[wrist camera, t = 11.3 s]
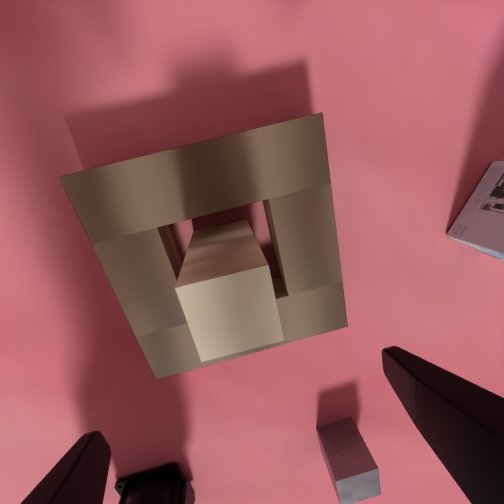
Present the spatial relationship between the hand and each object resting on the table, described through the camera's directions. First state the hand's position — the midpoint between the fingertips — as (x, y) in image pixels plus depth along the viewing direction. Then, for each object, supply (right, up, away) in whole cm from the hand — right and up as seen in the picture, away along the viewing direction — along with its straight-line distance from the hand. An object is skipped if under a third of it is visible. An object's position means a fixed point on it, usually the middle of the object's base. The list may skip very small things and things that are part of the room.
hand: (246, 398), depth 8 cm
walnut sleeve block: (-2, +5, +12) cm, 13 cm away
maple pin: (-2, +5, +12) cm, 13 cm away
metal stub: (+9, -16, +21) cm, 27 cm away
